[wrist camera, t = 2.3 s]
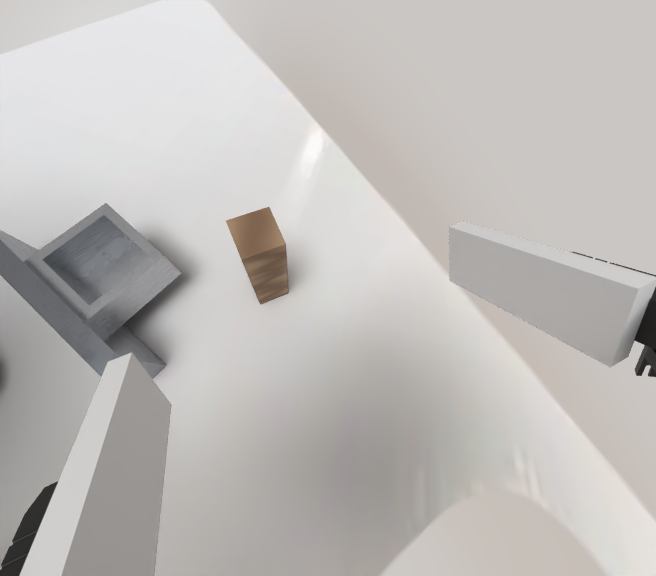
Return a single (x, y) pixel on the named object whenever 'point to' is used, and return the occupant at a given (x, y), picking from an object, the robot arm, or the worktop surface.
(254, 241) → the post
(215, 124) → the worktop surface
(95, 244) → the cup bracket
